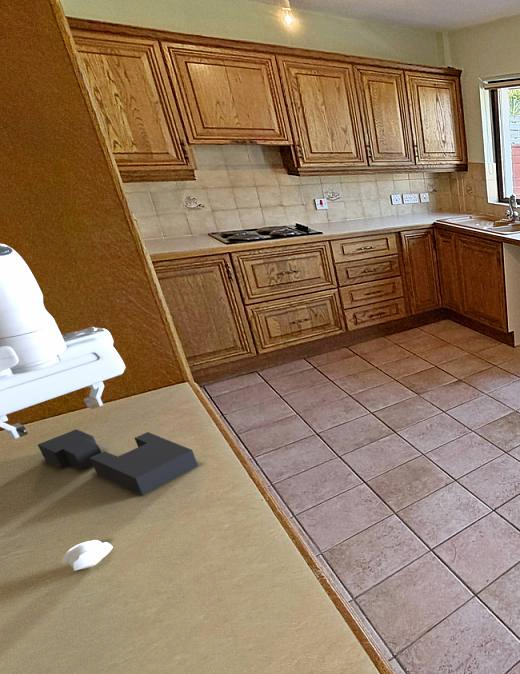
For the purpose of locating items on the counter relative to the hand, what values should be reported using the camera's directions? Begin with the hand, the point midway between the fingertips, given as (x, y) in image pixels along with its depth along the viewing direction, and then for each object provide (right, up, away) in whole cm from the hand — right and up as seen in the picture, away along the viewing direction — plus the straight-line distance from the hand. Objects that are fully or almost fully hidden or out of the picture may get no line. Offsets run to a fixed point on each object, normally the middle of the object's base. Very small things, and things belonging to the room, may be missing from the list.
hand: (59, 420), depth 79 cm
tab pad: (+1, -7, +2) cm, 8 cm away
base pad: (+14, -9, +1) cm, 17 cm away
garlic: (+22, -16, -16) cm, 32 cm away
